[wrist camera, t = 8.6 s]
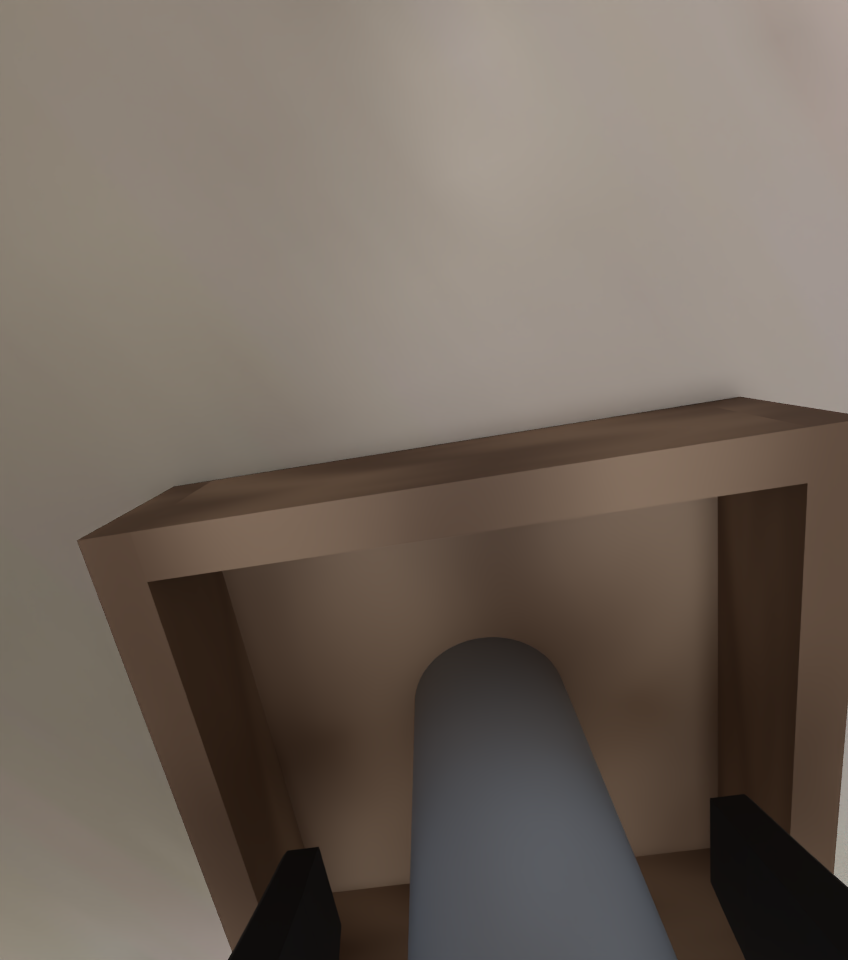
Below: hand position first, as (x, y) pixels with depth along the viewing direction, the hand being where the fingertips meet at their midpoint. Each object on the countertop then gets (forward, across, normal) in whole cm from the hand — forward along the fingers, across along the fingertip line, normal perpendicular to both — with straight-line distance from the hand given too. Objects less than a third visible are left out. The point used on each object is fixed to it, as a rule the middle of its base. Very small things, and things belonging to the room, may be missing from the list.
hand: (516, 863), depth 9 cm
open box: (+5, 0, 0) cm, 5 cm away
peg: (+4, 0, 0) cm, 4 cm away
